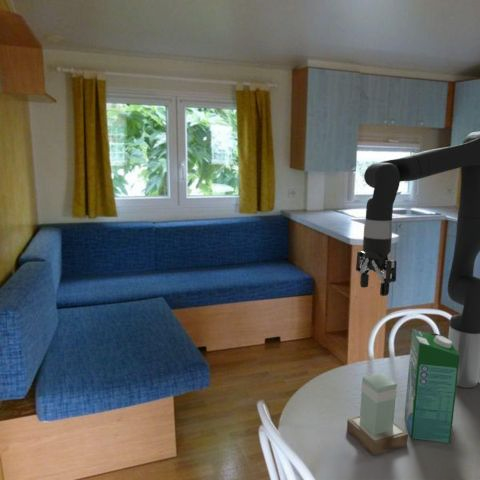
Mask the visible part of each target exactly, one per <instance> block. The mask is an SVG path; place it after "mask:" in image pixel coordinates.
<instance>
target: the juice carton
mask: <svg viewBox="0 0 480 480" xmlns="http://www.w3.org/2000/svg"><path fill="white" fill-rule="evenodd" d="M397 385H398V384H397V383H396V382H395V381H393V380H392V379H390V378H389V377H388V376H386V375H384V374H383V373H382V372H380V373H376V374H370V375H366V376H363V377H362V380H361V394H360V397H361V398H360V411H359V412H360V413H359V416H360V423H361V424H363V425H364V426H365V427H366V428H367V429H368V430H369V431H370V432H372V433H373V434H374V435H376V434H380V433H383V432H387V431H390V430H393V423H395V421H394V419H395V408H396V399H397V389H398V388H397Z"/></svg>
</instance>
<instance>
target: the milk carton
mask: <svg viewBox="0 0 480 480" xmlns="http://www.w3.org/2000/svg"><path fill="white" fill-rule="evenodd" d="M443 336H444V335H443ZM443 336H438V335H436V336H434V335H431V334H428V332H424V331H421V330H418V329H415V328H412V329H411V341H410V351H409V363H408V372H407V373H408V375H407V376H408V377H407V384H406V385H407V386H406V395H405V397H406V398H405V408H404V410H405V411H404V419H405V423H406V427H407V429H408V432H409V433H408V434H409V436H410V438H411V439H415V440H423V441H431V442H438V443H445V444H446V443H447V444H450V443H451V439H452V431H453V430H452V429H453V423H454V422H453V421H454V413H455V412H454V411H455V405H456V403H455V402H456V397H457V396H456V395H457V387H458V386H457V378H458V369H459V360H460V355H459V354H458V352H457V351H456V349H455V348H454V346H453V345H452V341H451V340H449V339H447V338H448V337H446V336H445V337H446V338H445V337H443Z"/></svg>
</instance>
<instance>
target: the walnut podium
mask: <svg viewBox="0 0 480 480" xmlns="http://www.w3.org/2000/svg"><path fill="white" fill-rule="evenodd" d="M346 425H347V426H346V431H347V432H348V433H349V434H350V435H351V436H352V437H353V438H354V439H355V440H356V441H357V442H358V443H359V444H360V445H361V446H363V448H364V449H366V451H368V452H369V454H371V455H372V457H373V456H376V455H380V454H383V453H386V452H390V451H393V450H396V449H400V448H403V447H406V446H408V439H409V438H408V437H409V433H407V432H406V431H405V430H404V429H402V427H400V426H398V424H396V423H395V422H394V423H393V430H390V431H387V432H383V433H380V434H376V435H374V434H373V433H372V432H370V431H369V430H368V429H367V428H366V427H365V426H364V425H363V424H361V423H360V415H359V416H357V417H352V418H348V419H347V423H346Z"/></svg>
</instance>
